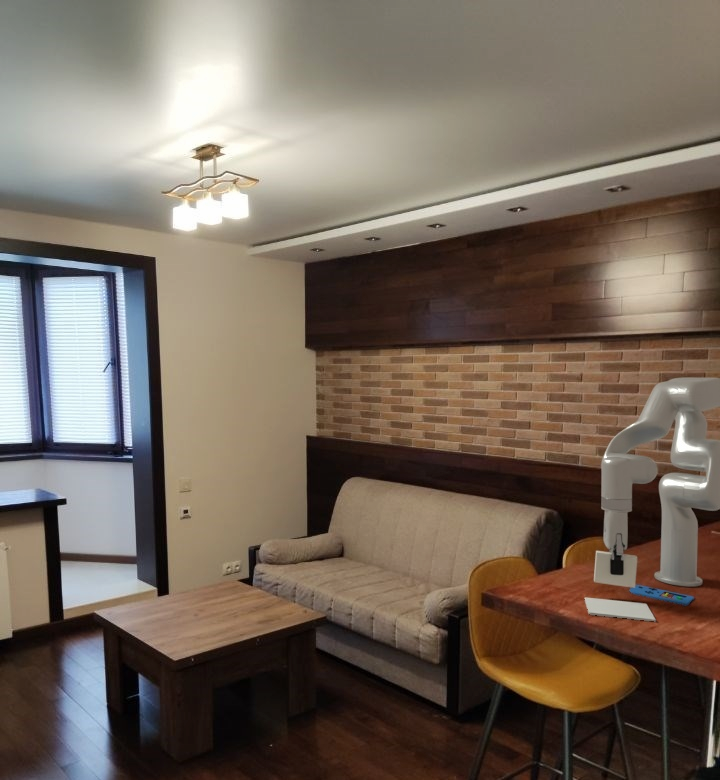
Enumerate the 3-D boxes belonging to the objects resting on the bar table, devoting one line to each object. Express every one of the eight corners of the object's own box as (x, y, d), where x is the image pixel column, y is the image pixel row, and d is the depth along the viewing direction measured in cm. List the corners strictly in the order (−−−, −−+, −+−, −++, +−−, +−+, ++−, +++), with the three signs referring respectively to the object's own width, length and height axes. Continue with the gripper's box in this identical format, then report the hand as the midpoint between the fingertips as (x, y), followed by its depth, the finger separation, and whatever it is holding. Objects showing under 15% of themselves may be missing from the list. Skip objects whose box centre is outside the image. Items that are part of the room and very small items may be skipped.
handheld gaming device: (636, 583, 179) (694, 595, 169) (636, 587, 179) (694, 599, 169) (627, 589, 173) (686, 602, 163) (626, 593, 173) (686, 607, 163)
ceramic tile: (593, 579, 169) (595, 550, 169) (633, 585, 167) (635, 555, 167) (594, 582, 167) (596, 552, 167) (635, 587, 165) (637, 557, 165)
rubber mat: (584, 599, 165) (584, 597, 165) (646, 606, 162) (646, 603, 162) (589, 614, 154) (589, 612, 154) (655, 622, 150) (655, 619, 150)
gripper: (598, 497, 175) (597, 563, 176) (605, 509, 160) (604, 581, 160) (627, 499, 173) (626, 565, 174) (636, 510, 158) (636, 583, 158)
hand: (616, 572), depth 167 cm, fingers closed on ceramic tile, 1 cm apart
